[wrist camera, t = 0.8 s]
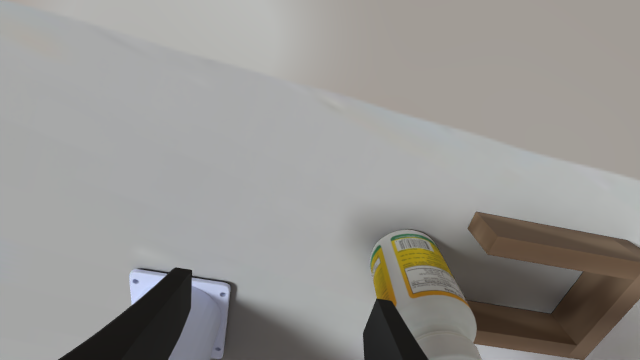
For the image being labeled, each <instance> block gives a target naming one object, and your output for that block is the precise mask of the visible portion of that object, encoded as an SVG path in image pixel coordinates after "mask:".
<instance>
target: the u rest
mask: <svg viewBox="0 0 640 360" xmlns="http://www.w3.org/2000/svg"><path fill="white" fill-rule="evenodd" d="M468 230H469V231H470V232H471V234H472V235H473V236H474V237H475V239H476V240H477V241H478V243H479V244H480V245H481V247H482V248H483V249H484V251H485V252H486V253H487V254H488V255H493V256H499V257H504V258H510V259H516V260H521V261H527V262H533V263H538V264H544V265H550V266H555V267H561V268H567V269H573V270H578V271H584V272H583V273H582V275H581V276H580V277H579V278H578V280H577V281H576V282H575V284H574V285H573V286H572V288H571V289H570V290H569V292H568V293H567V294H566V295H565V297H564V298H563V299H562V301H561V302H560V303H559V305H558V306H557V307H556V308H555V310H554V311H553V312H552V314H548V313H541V312H535V311H529V310H523V309H517V308H510V307H504V306H498V305H492V304H485V303H479V302H473V301H467V300H466V301H467V303H468V305H469V307H470V309H471V311H472V313H473V315H474V317H475V321H476V326H477V331H476V337H475V340H474V342H473V343H474V344H479V345H486V346H492V347H499V348H506V349H513V350H520V351H526V352H533V353H540V354H547V355H553V356H560V357H567V358H574V359H580V360H584V359H585V358H586V357H587V356H588V355H589V353H590V352H591V351H592V350H593V349H594V348H595V347H596V346H597V345H598V344H599V343H600V341H601V340H602V339H603V338H604V337H605V336H606V335H607V334H608V333H609V332H610V331H611V329H612V328H613V327H614V326H615V325H616V324H617V323H618V322H619V321H620V320H621V319H622V317H623V316H624V315H625V314H626V313H627V312H628V311H629V310H630V309H631V308H632V307H633V306H634V304H635V303H636V302H637V301H638V300H639V299H640V248H638V247H637V246H635V245H634V244H632V243H631V242H629V241H628V240H623V239H617V238H612V237H607V236H602V235H596V234H591V233H586V232H580V231H575V230H570V229H564V228H559V227H554V226H549V225H543V224H538V223H533V222H527V221H522V220H517V219H511V218H506V217H501V216H496V215H490V214H485V213H480V212H476V213H475V215H474V217H473V219H472V221H471V223H470V225H469V227H468Z"/></svg>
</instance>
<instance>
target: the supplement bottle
mask: <svg viewBox="0 0 640 360" xmlns="http://www.w3.org/2000/svg"><path fill="white" fill-rule="evenodd" d="M370 266H371V271H372V276H373V281H374V286H375V291H376V296H377V299H384V300H390V301H392V302H393V304H394V305H395V307H396V309H397V310H398V312H399V314H400V315H401V317H402V319H403V320H404V322H405V323H406V325H407V327H408V328H409V330H410V332H411V333H412V335H413V336H414V338H415V340H416V341H417V343H418V344H419V346H420V347H421V349H422V350H423V352H424V353H425V355H426V356H427V358H428V359H429V360H482V359H481V357H480V354H479V352H478V350H477V347H476V346H475V345H474V343H473V342H474V340H475V337H476V331H477V326H476V321H475V317H474V315H473V313H472V311H471V309H470V307H469V305H468V303H467V301H466V299H465V298H464V296H463V294H462V292H461V290H460V288H459V286H458V284H457V283H456V281H455V279H454V277H453V276H452V274H451V272H450V270H449V268H448V266H447V264H446V262H445V260H444V259H443V257H442V255H441V253H440V251H439V249H438V248H437V246H436V244H435V243H434V241H433V240H432V239H431V238H430V237H428V236H427V235H425V234H424V233H421V232H418V231H415V230H399V231H395V232H392V233H390V234H388V235H386V236H384V237H383V238H381V239H380V240H379V241H378V242H377V243H376V244H375V246H374V248H373V250H372V253H371V256H370Z"/></svg>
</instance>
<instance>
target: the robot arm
mask: <svg viewBox="0 0 640 360" xmlns="http://www.w3.org/2000/svg"><path fill="white" fill-rule="evenodd" d="M129 279H130V290H131V302H132V306H130V307H129V308H128V309H127V310H126V311H124V312H123V313H122V314H121V315H119V316H118V317H117V318H115V319H114V320H113V321H112V322H110V323H109V324H108V325H106V326H105V327H104V328H102V329H101V330H100V331H99V332H97V333H96V334H94V335H93V336H92V337H90V338H89V339H88V340H86V341H85V342H83V343H82V344H81V345H79V346H78V347H76V348H75V349H73V350H72V351H70V352H69V353H67V354H66V355H64V356H63V357H61V358H60V359H58V360H210V359H211V358H213V359H221V358H222V357H223V354H224V345H225V336H226V327H227V317H228V308H229V299H230V289H231V287H230V285H229V284H227V283H224V282H217V281H211V280H204V279H198V278H192V270H189V269H182V268H174V269H172V270H171V271H170V272H169V273H168V274H166V273H159V272H153V271H146V270H140V269H134V270H132V271H131V273H130V274H129ZM136 279H137V280H136ZM222 292H223V293H222ZM363 342H364V359H365V360H429V359H428V358H427V356H426V355H425V353H424V352H423V350H422V349H421V347H420V346H419V344H418V343H417V341H416V340H415V338H414V336H413V335H412V333H411V332H410V330H409V328H408V327H407V325H406V323H405V322H404V320H403V319H402V317H401V315H400V314H399V312H398V310H397V309H396V307H395V305H394V304H393V302H392V301H390V300H384V299H376V302H375V304H374V307H373V309H372V312H371V314H370V317H369V319H368V322H367V324H366V327H365V330H364V332H363Z"/></svg>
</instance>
